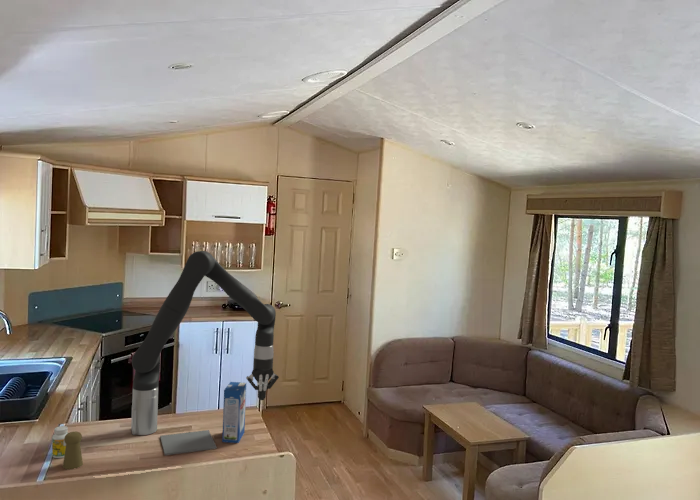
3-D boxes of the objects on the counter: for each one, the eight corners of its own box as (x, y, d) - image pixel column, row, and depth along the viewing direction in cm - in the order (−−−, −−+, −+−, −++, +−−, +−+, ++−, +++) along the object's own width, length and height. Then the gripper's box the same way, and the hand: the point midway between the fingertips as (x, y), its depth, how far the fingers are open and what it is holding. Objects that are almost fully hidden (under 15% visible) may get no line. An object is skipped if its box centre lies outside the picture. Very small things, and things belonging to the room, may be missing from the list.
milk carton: (228, 431, 217) (230, 381, 215) (244, 432, 217) (246, 382, 215) (222, 442, 207) (224, 390, 205) (238, 443, 207) (240, 391, 205)
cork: (86, 461, 186) (86, 429, 186) (77, 469, 180) (78, 437, 180) (67, 460, 186) (68, 428, 185) (59, 469, 180) (59, 436, 179)
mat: (164, 455, 194) (164, 453, 194) (160, 437, 208) (160, 435, 208) (216, 448, 201) (216, 446, 201) (208, 431, 216) (208, 429, 216)
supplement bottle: (73, 453, 191) (73, 426, 191) (60, 460, 186) (60, 432, 186) (61, 450, 193) (62, 423, 193) (48, 456, 188) (48, 429, 188)
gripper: (277, 352, 220) (274, 394, 221) (244, 354, 214) (242, 397, 216) (282, 357, 213) (280, 401, 215) (249, 359, 208) (247, 404, 209)
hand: (261, 399), depth 215 cm, fingers closed
